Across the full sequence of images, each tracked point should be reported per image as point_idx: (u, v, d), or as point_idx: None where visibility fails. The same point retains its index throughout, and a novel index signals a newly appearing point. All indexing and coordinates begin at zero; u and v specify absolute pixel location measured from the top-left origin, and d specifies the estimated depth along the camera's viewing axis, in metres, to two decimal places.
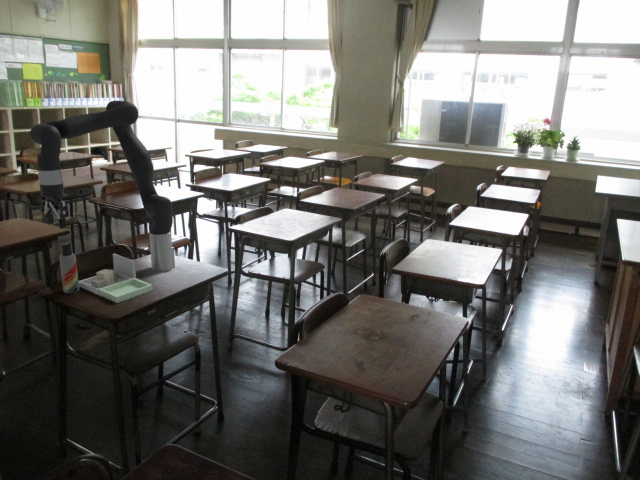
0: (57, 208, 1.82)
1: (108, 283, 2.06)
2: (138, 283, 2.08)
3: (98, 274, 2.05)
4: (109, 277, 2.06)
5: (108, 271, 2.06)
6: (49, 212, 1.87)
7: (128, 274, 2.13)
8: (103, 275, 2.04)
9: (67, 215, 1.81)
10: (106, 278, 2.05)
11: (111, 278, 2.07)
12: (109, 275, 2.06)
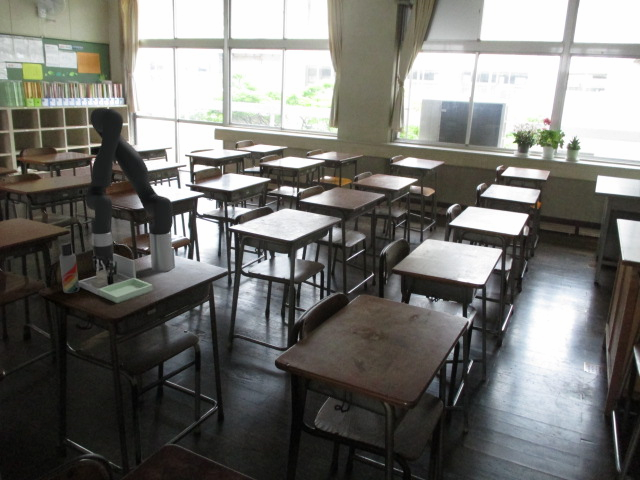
0: None
1: None
2: (138, 283, 2.08)
3: (98, 274, 2.05)
4: None
5: None
6: None
7: (128, 274, 2.13)
8: (103, 275, 2.04)
9: (115, 273, 2.04)
10: (106, 278, 2.05)
11: None
12: None
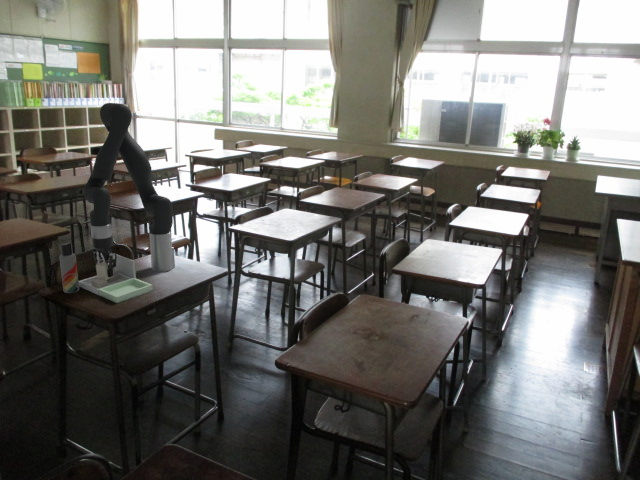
0: None
1: (107, 275, 2.06)
2: (138, 283, 2.08)
3: (97, 266, 2.05)
4: None
5: None
6: None
7: (128, 274, 2.13)
8: (102, 267, 2.04)
9: (114, 265, 2.04)
10: (105, 270, 2.04)
11: None
12: None
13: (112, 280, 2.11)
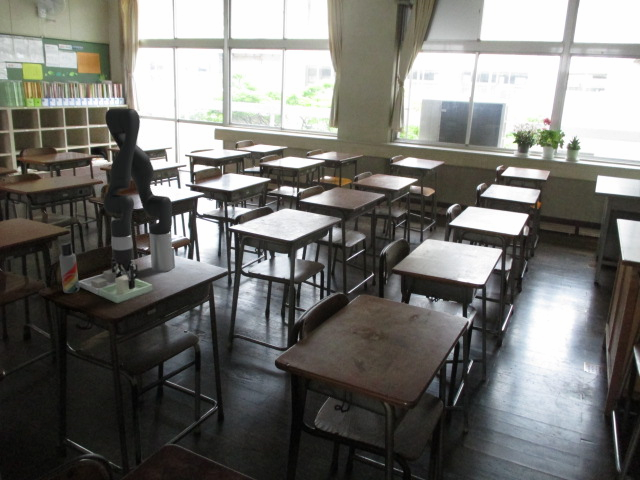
0: (127, 270, 1.97)
1: (127, 290, 1.99)
2: (138, 283, 2.08)
3: (117, 280, 1.98)
4: (128, 284, 1.99)
5: (127, 278, 1.99)
6: (119, 273, 2.01)
7: None
8: (122, 282, 1.96)
9: (137, 277, 1.96)
10: (125, 285, 1.97)
11: None
12: None
13: (112, 280, 2.11)
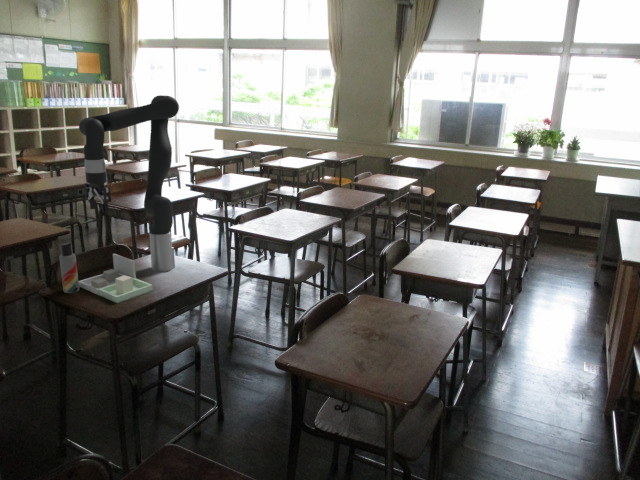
0: (100, 194, 2.01)
1: (127, 290, 1.99)
2: (138, 283, 2.08)
3: (117, 280, 1.98)
4: (128, 284, 1.99)
5: (127, 278, 1.99)
6: (92, 198, 2.06)
7: (128, 274, 2.13)
8: (122, 282, 1.96)
9: (110, 200, 2.00)
10: (125, 285, 1.97)
11: (130, 285, 2.00)
12: (128, 281, 1.98)
13: (112, 280, 2.11)
